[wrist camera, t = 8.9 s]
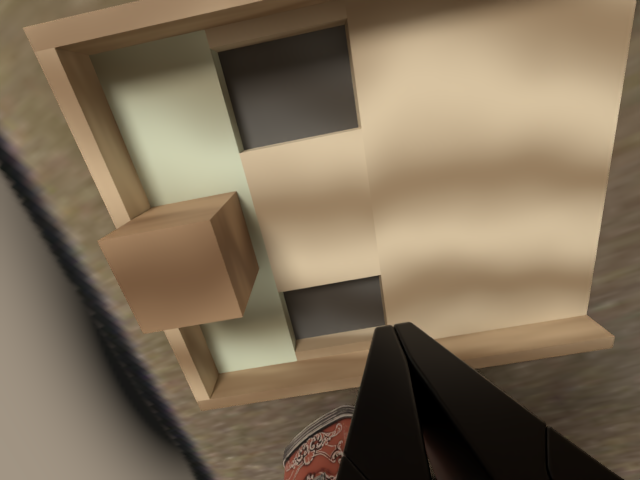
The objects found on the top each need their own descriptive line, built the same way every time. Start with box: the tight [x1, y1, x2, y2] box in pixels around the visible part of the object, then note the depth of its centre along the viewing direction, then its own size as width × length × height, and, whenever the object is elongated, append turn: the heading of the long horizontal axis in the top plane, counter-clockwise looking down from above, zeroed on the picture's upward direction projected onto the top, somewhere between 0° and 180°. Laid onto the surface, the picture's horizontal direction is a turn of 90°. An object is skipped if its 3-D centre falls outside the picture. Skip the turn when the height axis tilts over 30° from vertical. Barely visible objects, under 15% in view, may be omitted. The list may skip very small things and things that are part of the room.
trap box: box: [23, 0, 636, 411], centre depth 17 cm, size 20×24×4 cm
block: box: [98, 191, 259, 334], centre depth 15 cm, size 4×4×4 cm
